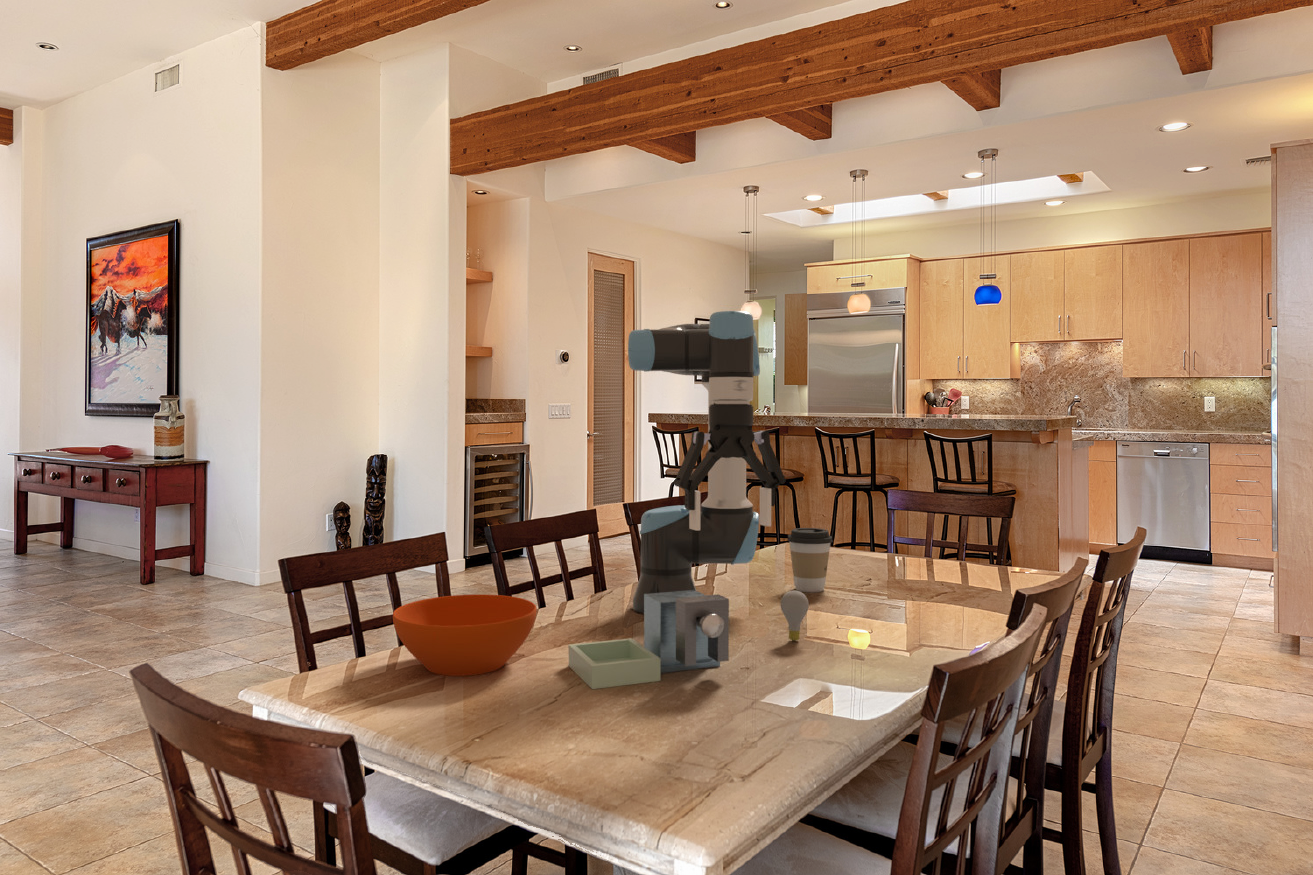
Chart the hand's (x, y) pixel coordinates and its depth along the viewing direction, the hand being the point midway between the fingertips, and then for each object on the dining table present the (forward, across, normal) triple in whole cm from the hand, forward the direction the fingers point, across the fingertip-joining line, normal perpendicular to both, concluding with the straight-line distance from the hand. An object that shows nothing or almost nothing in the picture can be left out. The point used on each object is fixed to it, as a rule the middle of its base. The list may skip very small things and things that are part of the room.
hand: (730, 527), depth 152 cm
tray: (+26, -18, +9) cm, 32 cm away
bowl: (+26, -40, +25) cm, 54 cm away
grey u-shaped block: (+22, -5, 0) cm, 23 cm away
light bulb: (+26, +22, +15) cm, 37 cm away
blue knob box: (+25, -5, +6) cm, 27 cm away
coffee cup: (+25, +52, +56) cm, 81 cm away
